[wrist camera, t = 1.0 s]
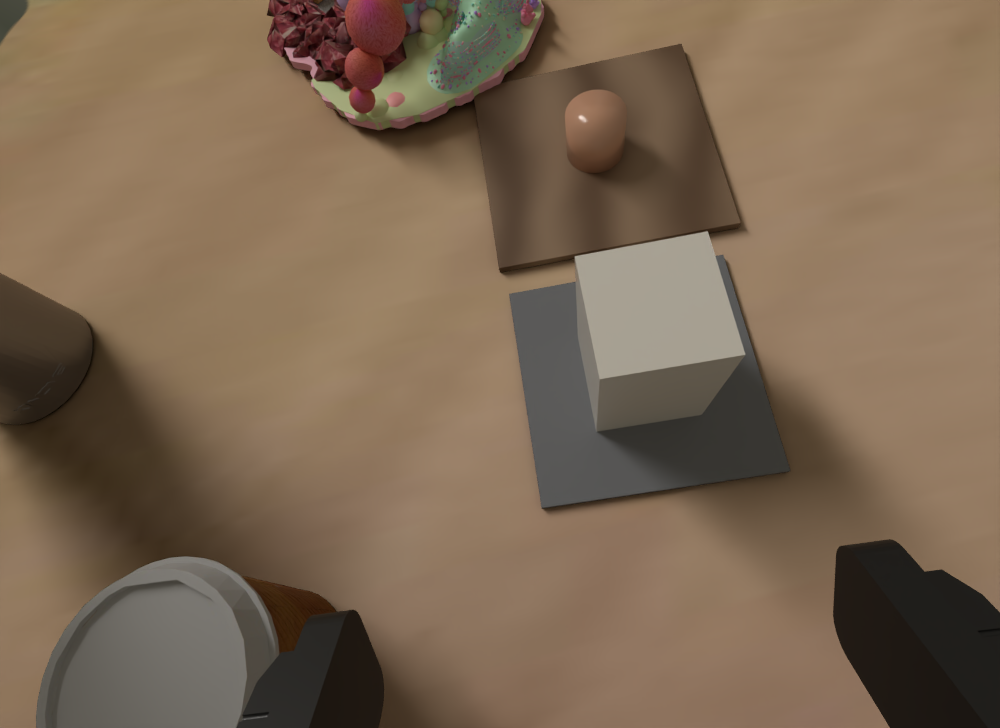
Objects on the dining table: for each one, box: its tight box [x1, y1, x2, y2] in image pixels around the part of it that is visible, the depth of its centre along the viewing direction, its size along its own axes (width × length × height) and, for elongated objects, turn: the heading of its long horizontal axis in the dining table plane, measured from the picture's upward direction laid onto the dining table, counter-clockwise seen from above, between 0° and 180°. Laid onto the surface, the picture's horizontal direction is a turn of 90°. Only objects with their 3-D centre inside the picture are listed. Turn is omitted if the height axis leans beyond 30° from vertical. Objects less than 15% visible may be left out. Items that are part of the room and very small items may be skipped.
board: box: [474, 44, 741, 272], centre depth 41 cm, size 16×16×1 cm
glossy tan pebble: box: [565, 90, 627, 173], centre depth 39 cm, size 4×4×4 cm
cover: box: [575, 231, 745, 432], centre depth 30 cm, size 6×6×10 cm
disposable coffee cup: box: [36, 556, 336, 728], centre depth 27 cm, size 10×10×12 cm
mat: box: [509, 255, 790, 509], centre depth 35 cm, size 14×14×1 cm
